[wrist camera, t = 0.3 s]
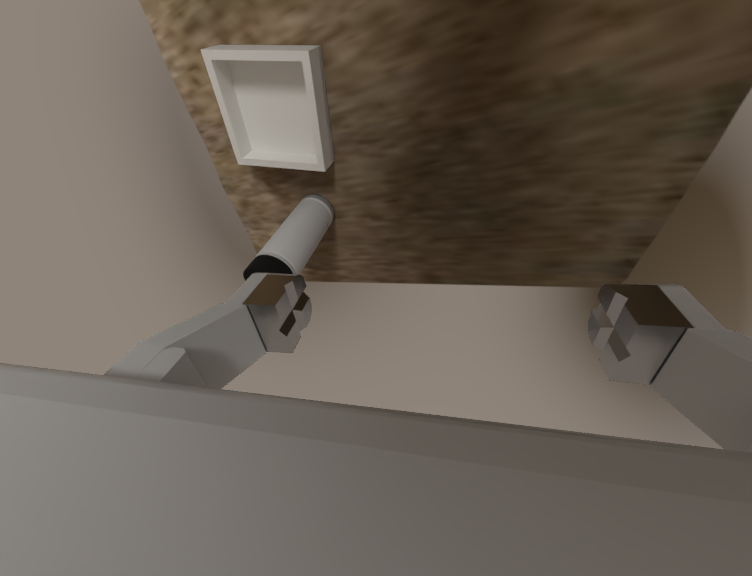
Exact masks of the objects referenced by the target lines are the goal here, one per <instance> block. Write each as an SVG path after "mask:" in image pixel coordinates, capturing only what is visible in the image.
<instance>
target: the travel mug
mask: <svg viewBox="0 0 752 576" xmlns="http://www.w3.org/2000/svg"><path fill="white" fill-rule="evenodd" d="M333 220H334V210H333V208H332V206H331V204H330V203H329V202H328V201H327V200H326V199H324V198H323V197H321V196H318V195H308V196H305V197H304V198H303V199H302V200H301V202H300V203H299V204H298V205H297V207H296V208H295V209H294V210H293V211H292V213H291V214H290V215H289V216H288V217H287V219H286V220H285V221H284V222H283V224H282V225H281V226H280V227H279V228H278V230H277V231H276V232H275V233H274V235H273V236H272V237H271V238H270V239H269V241H268V242H267V243H266V244H265V245H264V247H263V248H262V249H261V250H260V252H259V253H258V254H257V255H256V257H255V258H254V259H253V261H252V262H251V263H250V264H249V266H248V267H247V268H246V269H245V271H244V273H243V276H244V278H245V281H246V280H247V279H248V278H249V277H250V276H251V275H252V274H253V273H280V274H300V273H301V271H302V270H303V268H304V266H305V265H306V263H307V262H308V260H309V258H310V257H311V255H312V254H313V252H314V250H315V249H316V247H317V246H318V244H319V242H320V241H321V239H322V238H323V236H324V234H325V233H326V231H327V230H328V228H329V226H330V225H331V223H332V221H333Z"/></svg>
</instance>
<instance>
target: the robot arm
mask: <svg viewBox="0 0 752 576" xmlns="http://www.w3.org/2000/svg"><path fill="white" fill-rule="evenodd" d="M305 288H306V284H305V281H304V277H302V276H301V275H299V274H280V273H253V274H252V275H251V276H250V277H249V278H248V279H247V280H246V281H245V282H244V284H243V285H242V286H241V287H240V288H239V289H238V290H237V291H236V292H235V293H234V294H233V295H232V296H231V298H230V299H229V300H228V301H227V302H226V303H225V304H224V303H220V304H218V305H216V306H214V307H212V308H210V309H208V310H205V311H203V312H201V313H199V314H197V315H195V316H193V317H191V318H189V319H187V320H185V321H183V322H180V323H178V324H176V325H174V326H172V327H170V328H168V329H166V330H164V331H162V332H159V333H157V334H155V335H153V336H151V337H149V338H147V339H145V340H143V341H141V342H139V343H137V344H136V345H135V346H134V347H133V348H132V349H131V350H130V351H129V352H128V353H126V354H125V355H124V356H123V357H122V358H121V359H120V360H119V361H118V362H117V363H116V364H115V365H113V367H111V368H110V369H109V370H108V371H107V372H106V373H105V374H104V375H96V374H88V373H79V372H72V371H63V370H54V369H47V368H37V367H30V366H21V365H13V364H5V363H0V576H752V339H751V338H749V337H747V336H745V335H743V334H740V333H738V332H736V331H728V330H725V329H724V328H723V327H722V326H721V325H720V324H719V323H718V322H717V321H716V320H715V319H714V318H713V317H712V316H711V315H710V313H709V312H708V311H707V310H706V309H705V308H704V307H703V306H702V305H701V304H700V303H699V302H698V301H697V300H696V299H695V298H694V297H693V296H692V295H691V294H690V293H689V292H688V291H687V290H686V289H685V288H684V287H682V286H679V285H675V284H673V285H669V284H668V285H667V284H662V285H660V284H659V285H658V284H654V285H626V284H604V285H603V287H602V288H601V289H600V291H599V293H598V296H597V298H598V299H599V302H600V303H601V305H599V306H598V307H596V308H595V309H594V310H592V311H591V314H590V317H589V320H588V334H589V338H590V341H591V343H592V345H593V346H594V347H595V348H596V349H598V350H599V351H600V352H602V354H601V356H600V358H599V360H600V363H601V364H602V367H603V369H604V371H605V373H606V375H607V377H608V379H609V381H617V382H626V383H636V384H645V385H651V386H650V387H651V388H652V389H653V390H654V391H656V392H657V393H658V394H659V395H660V396H661V397H663V398H664V399H665V400H666V401H667V402H669V403H670V404H671V405H672V406H673V407H675V408H676V409H677V410H678V411H679V412H681V413H682V414H683V415H684V416H685V417H686V418H688V419H689V420H690V421H691V422H692V423H694V424H695V425H696V426H697V427H699V428H700V429H701V430H702V431H703V432H704V433H706V434H707V435H708V436H709V437H710V438H712V439H713V440H714V441H715V442H716V443H718V444H719V445H720V446H721V447H722V448H723V449H715V448H707V447H699V446H690V445H682V444H673V443H665V442H657V441H649V440H640V439H632V438H624V437H615V436H607V435H598V434H590V433H582V432H573V431H565V430H556V429H548V428H540V427H532V426H523V425H515V424H506V423H498V422H490V421H482V420H473V419H465V418H456V417H448V416H440V415H431V414H423V413H415V412H407V411H398V410H390V409H381V408H373V407H364V406H356V405H348V404H339V403H331V402H323V401H314V400H306V399H297V398H289V397H280V396H273V395H263V394H255V393H248V392H239V391H231V390H222V388H223V387H224V386H225V385H227V384H228V383H229V382H230V381H232V380H233V379H234V378H235V377H237V376H238V375H239V374H241V373H242V372H243V371H244V370H246V369H247V368H248V367H249V366H251V365H252V364H253V363H254V362H256V361H257V360H258V359H260V358H261V357H262V356H263V355H265V354H266V352H282V353H293V351H294V349H295V348H296V346H297V344H298V342H299V340H300V338H301V335H300V332H299V331H301V330H302V329H304V328H305V327H307V325H308V323H309V321H310V317H311V312H312V311H311V302H310V298H309V297H308V296H307V295H306V294H305V293H304V292H303V291H304V289H305ZM724 449H725V450H724Z"/></svg>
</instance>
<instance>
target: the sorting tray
mask: <svg viewBox="0 0 752 576" xmlns="http://www.w3.org/2000/svg"><path fill="white" fill-rule="evenodd" d="M201 53H202V56H203V59H204V62H205V65H206V68H207V71H208V74H209V77H210V80H211V83H212V86H213V89H214V92H215V95H216V98H217V101H218V104H219V107H220V110H221V113H222V116H223V120H224V123H225V126H226V129H227V132H228V135H229V138H230V141H231V144H232V147H233V150H234V153H235V156H236V159H237V162H238V164H241V165H253V166H264V167H276V168H287V169H299V170H310V171H322V172H325V171H326V170H327V169H328V168H329V166H330V165H331V164H332V163H333V162H334V153H333V145H332V136H331V127H330V119H329V110H328V101H327V92H326V84H325V75H324V66H323V58H322V49H321V45H217V46H213V47H209V48H205V49H201Z"/></svg>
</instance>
